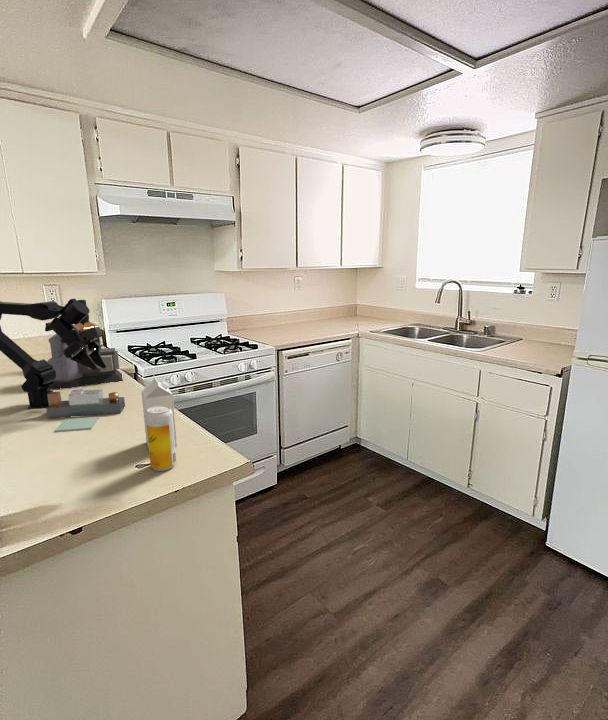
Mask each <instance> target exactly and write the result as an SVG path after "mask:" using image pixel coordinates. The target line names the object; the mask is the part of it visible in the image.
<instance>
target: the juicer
mask: <svg viewBox="0 0 608 720" xmlns="http://www.w3.org/2000/svg"><path fill="white" fill-rule="evenodd" d="M74 325H75V324H73V326H74ZM61 340H62V339H61V338H60V337H59V336H58V335H57V334H56V333H55V334H53V335H52V336H50V338H48V343H49V346H50V352H51V353H50V354H51V358H49V359H48V360H46V361H47V362H48V363H49V364H50V365H51V366H53V367H52V368H53V369H54V370H55V371H56V378H55V380H54V383H53V385H51V386H50V387H51V389H52V390H61V389H60V388H68V389H73V388H72V387H75V388H78V387H77V386H79V387H83V386H82V385H84V386H92V385H101V384H100V383H103V384H111V383H110V382H113V383H120V382H119V381H122V382H124V378H123V379H122V374H123V373H122V372H120V371H119V369H120V362H119V352H118V350H116V348H115V347H111V348H110V347H109V348H101V350H100V355H101V357H102V359H103V361H104V363H105V365H106V368H104V369H103V368H101V367H100V366H98V365H96V364H95V365H96V366H97V369H96V370H93V369H91V368H89V367H87V366H84V365H82V364H80V363H78V362H75V361H73V360H70V359H71V358H69V359H67V358H66V357H65V355H64V354H63V351H64V349H66V348H67V347H68V346H67V345H66V344H65V343H62V342H61ZM71 356H72V357H73V355H71Z"/></svg>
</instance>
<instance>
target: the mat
mask: <svg viewBox="0 0 608 720" xmlns="http://www.w3.org/2000/svg"><path fill="white" fill-rule="evenodd" d="M99 419H100V417H99V416H93V417H92V416H89V417H79V418H77V417H75V418H67V419H66V418H65V419H64V420H63V421H62V422H61V423H60V424H59V425H58V426H57V427H56V428H55V429H54V433H58V432H59V433H60V432H61V431H62V432H73V430H75V431H84V430H85V431H87V430H92V429H93V428H94V426H95V425H96V424H97V422H98V421H97V420H99Z"/></svg>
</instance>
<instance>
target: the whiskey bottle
mask: <svg viewBox="0 0 608 720" xmlns="http://www.w3.org/2000/svg"><path fill="white" fill-rule="evenodd" d="M76 300H77V301H79V302H81V303H83V304H84V305H86V306H87V300H86V299H76ZM89 314H90V313H89ZM89 314H88V315H87V316H86V317H85V318H84V319H83V320H82V321H81V322H79V323H78V324H74V327H75V328H76V329H77V330H81V331H84V330H87V329H90V328H93V327H94V326H95V327H100V326H99V325H97V324H96V323H93V322H91V321H90V315H89ZM100 338H101V337H97V338H94V339H91V342H98V343H99V344H100V345H101V339H100ZM88 344H89V343H88Z"/></svg>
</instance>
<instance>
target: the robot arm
mask: <svg viewBox="0 0 608 720" xmlns="http://www.w3.org/2000/svg"><path fill="white" fill-rule="evenodd" d="M77 300H78V299H76V298H70V299H69V300H67V303H66V304H65V305H64V306H63V305H59V304H58V303H57V302H56V301H53V300H51V301H44V302H36V303H25V302H13V301H12V302H11V301H9V302H8V301H0V321H1V319H2V316H3V315H13V316H15V315H16V316H27V317H29V318H31V319H34V320H37V321H42V322H43V321H48V320H51V321H49V322H45V328H44V331H45V332H47V333H48V332H50V331H53V332H54V333H55V334H57V335H58V336H59V337H60V338H61V339H62V340H61V342H62V343H65V344H66V345H67V346H68V347H67V348H66V349H64V351H63V354H64V355H65V357H66V358H67V359H69V358H71V359H70V360H73V361H75V362H78V363H80V364H82V365H84V366H87V367H89V368H91V369H93V370H96V369H97V366H96V365H98V366H100V367H101V368H103V369H104V368H106V365H105V363H104V361H103V359H102V357H101V355H100V350H101V349H102V344H101V343H100V344H99V343H98V342H91V339H94V338H97V337H99V338H101V337H103V336H104V334H103V333H102V332H103V330H102V329H101V327H100V326H99V327H95V326H94V327H93V328H90V329H87V330H84V331H81V330H77V329H76V328H75V327H74V326H73V324H74V325H75V324H78V323H79V322H81V321H82V320H83V319H84V318H85V317H86V316H87V315H88V314H90V308H89V307H88V305H87V304H86V305H84V304H83V303H81V302H79V301H77ZM88 343H89V344H88ZM0 352H1V353H2V354H3V355H4V356H6V358H8V359H9V360H10V361H12V362H13V363H14V364H15V365H17V366H18V368H20V369H21V371H22V374H23V377H24V378H25V380H24V382H23V383H22V384H21V387H20V388H21V390H22V391H23V392H24V393H27V398H28V403H29V405H28V406H27V409H39V408H41V409H43V408H47V407H49V403H48V396H47V394H48V393H50V392H54V390H51V387H50V386H51V385H53V383H54V380H55V378H56V371H55V370H54V369H53V368H52V367H53V366H51V365H50V364H49V363H48V362H47V361H48V360H46V359H40V360H37V359H34V358H33V357H32V356H31V355H30V354H29V353H28V352H26V351H25V350H24V349H22V348H21V346H19V344H18V343H16V342H15V341H14V340H12V339H11V338H10V337H9V336H8V335H6V334H5V333H4V332H3V331H2V327H1V325H0ZM71 355H73V357H72V356H71ZM95 364H96V365H95Z"/></svg>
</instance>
